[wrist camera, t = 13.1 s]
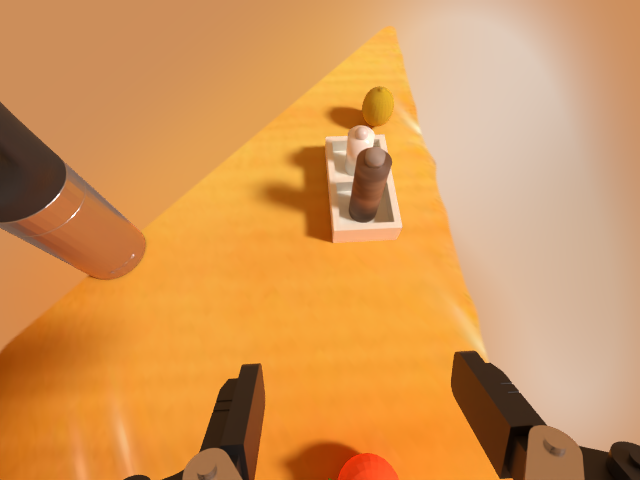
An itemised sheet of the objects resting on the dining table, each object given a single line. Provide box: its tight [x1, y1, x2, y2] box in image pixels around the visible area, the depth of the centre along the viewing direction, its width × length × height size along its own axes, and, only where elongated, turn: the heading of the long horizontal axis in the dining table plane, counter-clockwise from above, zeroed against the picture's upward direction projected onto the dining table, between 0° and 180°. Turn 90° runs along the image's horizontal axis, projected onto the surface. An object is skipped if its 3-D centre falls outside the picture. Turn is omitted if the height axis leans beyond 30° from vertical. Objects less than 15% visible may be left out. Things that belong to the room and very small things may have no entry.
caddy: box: [325, 134, 402, 243], centre depth 52 cm, size 18×10×4 cm, turn 3°
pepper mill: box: [349, 147, 392, 223], centre depth 45 cm, size 4×4×13 cm
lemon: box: [362, 87, 394, 126], centre depth 57 cm, size 6×6×8 cm
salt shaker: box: [345, 125, 375, 177], centre depth 50 cm, size 4×4×9 cm
